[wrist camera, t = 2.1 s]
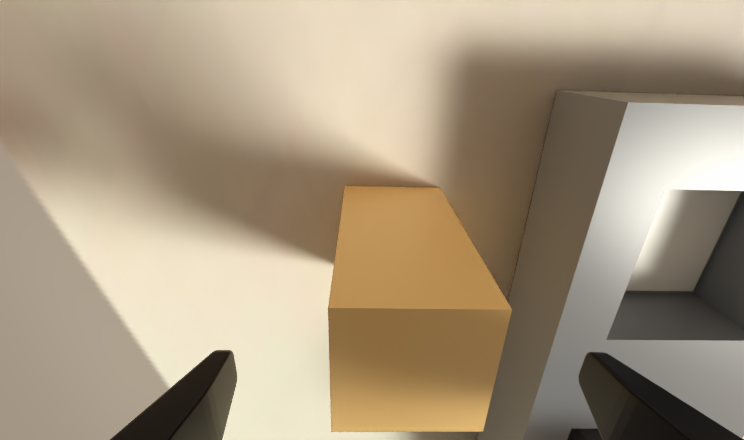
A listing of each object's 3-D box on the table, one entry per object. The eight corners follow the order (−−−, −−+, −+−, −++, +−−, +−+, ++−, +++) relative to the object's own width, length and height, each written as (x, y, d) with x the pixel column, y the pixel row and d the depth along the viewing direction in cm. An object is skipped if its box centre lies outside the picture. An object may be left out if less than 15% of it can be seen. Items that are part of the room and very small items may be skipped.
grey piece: (625, 457, 23) (675, 533, 19) (471, 458, 23) (492, 535, 19) (809, 98, 14) (968, 112, 10) (556, 90, 14) (628, 102, 10)
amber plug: (430, 268, 17) (483, 431, 9) (345, 267, 17) (331, 431, 9) (440, 187, 15) (512, 309, 8) (344, 185, 15) (328, 308, 8)
